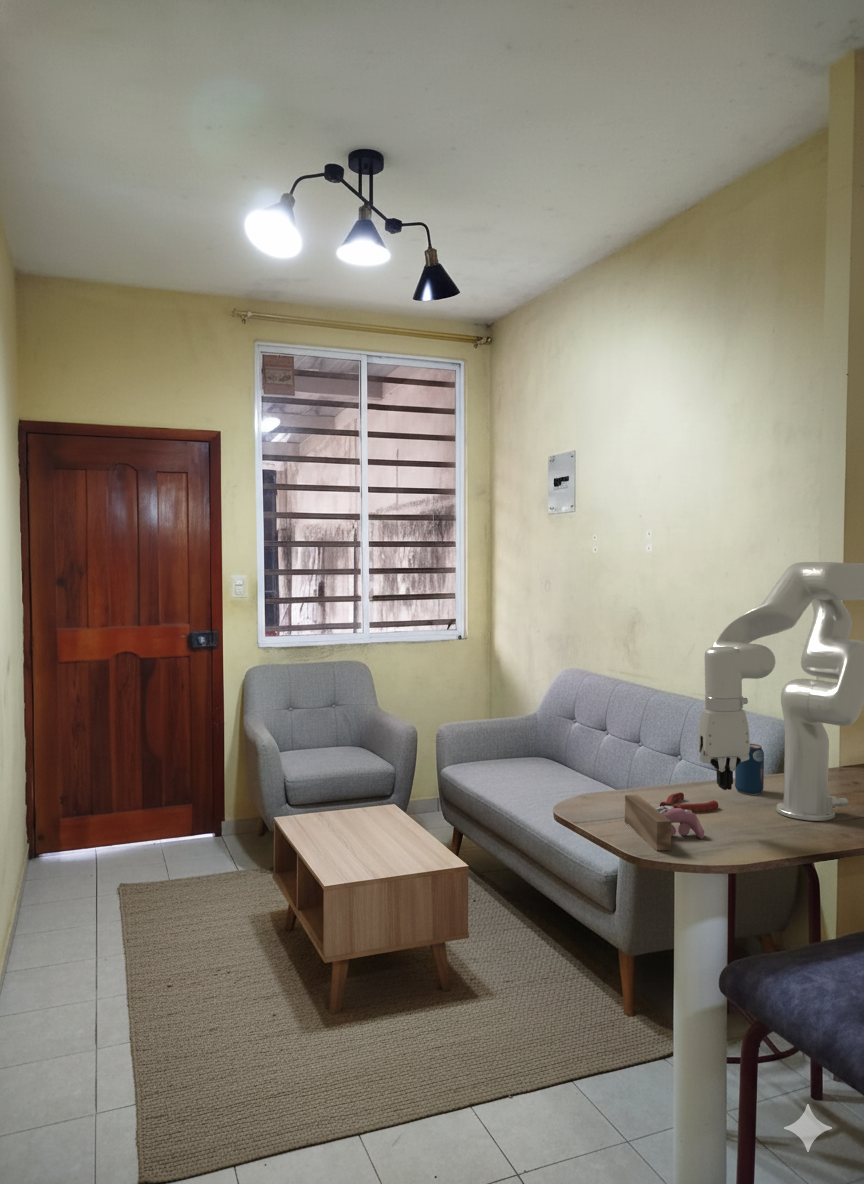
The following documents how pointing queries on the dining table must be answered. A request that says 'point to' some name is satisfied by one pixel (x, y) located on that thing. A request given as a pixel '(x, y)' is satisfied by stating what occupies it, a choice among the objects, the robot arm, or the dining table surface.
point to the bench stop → (648, 822)
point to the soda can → (751, 772)
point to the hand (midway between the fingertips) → (724, 788)
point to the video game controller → (684, 821)
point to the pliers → (693, 807)
